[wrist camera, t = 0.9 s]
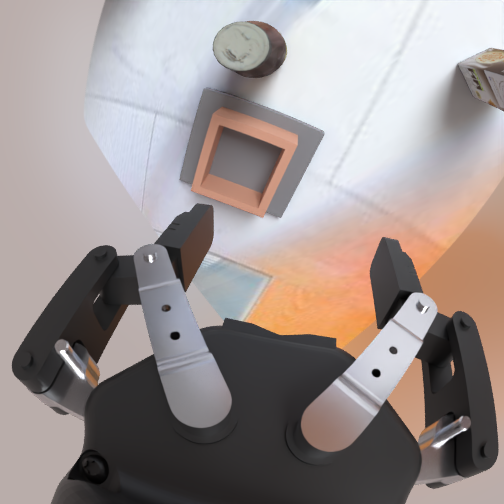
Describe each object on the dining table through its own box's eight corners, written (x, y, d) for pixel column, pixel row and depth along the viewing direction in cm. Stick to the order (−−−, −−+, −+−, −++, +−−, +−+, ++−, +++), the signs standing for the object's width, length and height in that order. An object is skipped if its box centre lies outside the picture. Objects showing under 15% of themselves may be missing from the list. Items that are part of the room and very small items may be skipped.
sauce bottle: (247, 75, 33) (201, 98, 18) (236, 36, 29) (179, 25, 14) (294, 67, 31) (289, 79, 16) (284, 26, 27) (269, 1, 12)
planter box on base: (182, 175, 45) (168, 193, 41) (207, 87, 35) (192, 93, 30) (281, 212, 47) (278, 234, 43) (323, 131, 37) (327, 144, 32)
